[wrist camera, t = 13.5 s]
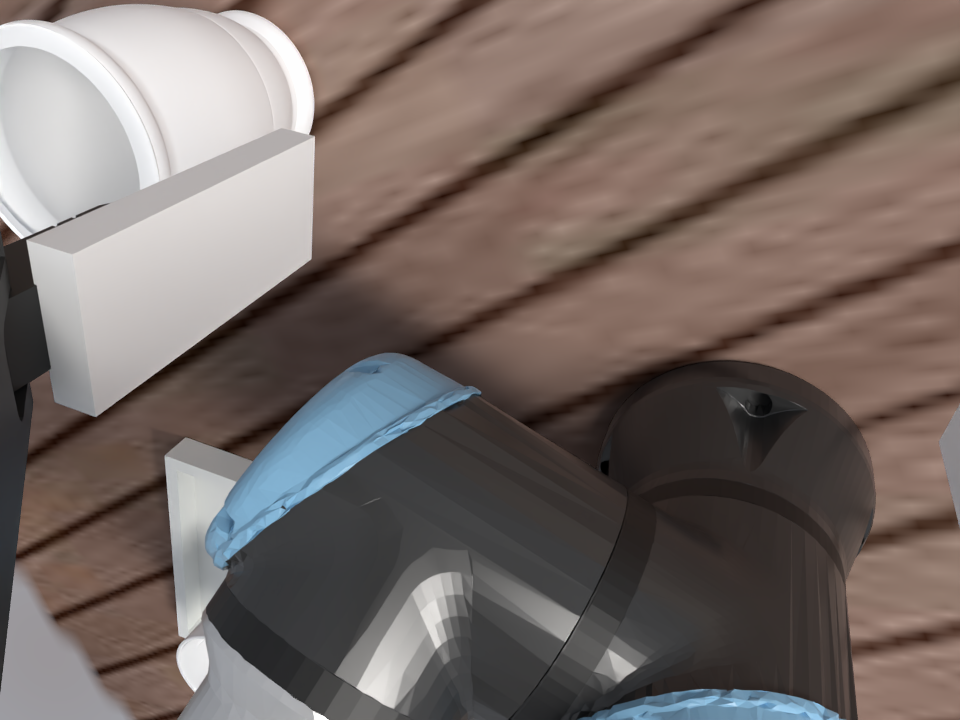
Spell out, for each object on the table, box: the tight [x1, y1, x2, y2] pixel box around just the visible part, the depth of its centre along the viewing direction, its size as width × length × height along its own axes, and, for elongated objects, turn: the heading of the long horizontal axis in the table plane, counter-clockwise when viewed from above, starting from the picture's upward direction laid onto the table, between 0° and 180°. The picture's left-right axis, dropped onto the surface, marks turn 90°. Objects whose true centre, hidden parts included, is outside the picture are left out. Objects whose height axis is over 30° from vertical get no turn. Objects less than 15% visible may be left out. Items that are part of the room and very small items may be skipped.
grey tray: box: [165, 437, 253, 638], centre depth 64 cm, size 20×20×2 cm
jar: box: [0, 4, 314, 239], centre depth 40 cm, size 11×10×15 cm
